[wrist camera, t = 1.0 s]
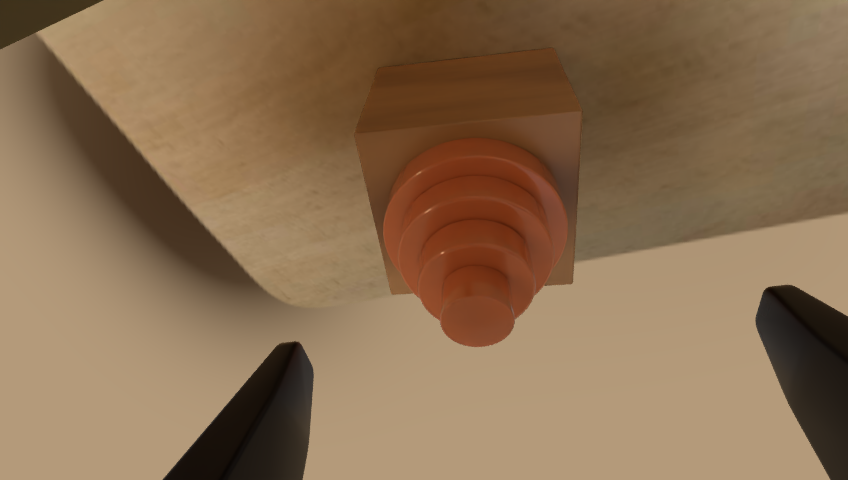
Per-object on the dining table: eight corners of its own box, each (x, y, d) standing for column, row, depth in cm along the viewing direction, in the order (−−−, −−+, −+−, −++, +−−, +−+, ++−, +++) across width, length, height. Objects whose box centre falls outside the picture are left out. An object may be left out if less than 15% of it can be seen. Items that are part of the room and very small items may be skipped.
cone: (560, 275, 19) (586, 387, 15) (401, 285, 20) (387, 394, 16) (565, 127, 16) (600, 224, 12) (372, 146, 16) (343, 242, 12)
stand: (550, 198, 24) (572, 284, 19) (404, 209, 25) (391, 295, 20) (553, 47, 20) (583, 110, 15) (377, 67, 21) (353, 133, 16)
